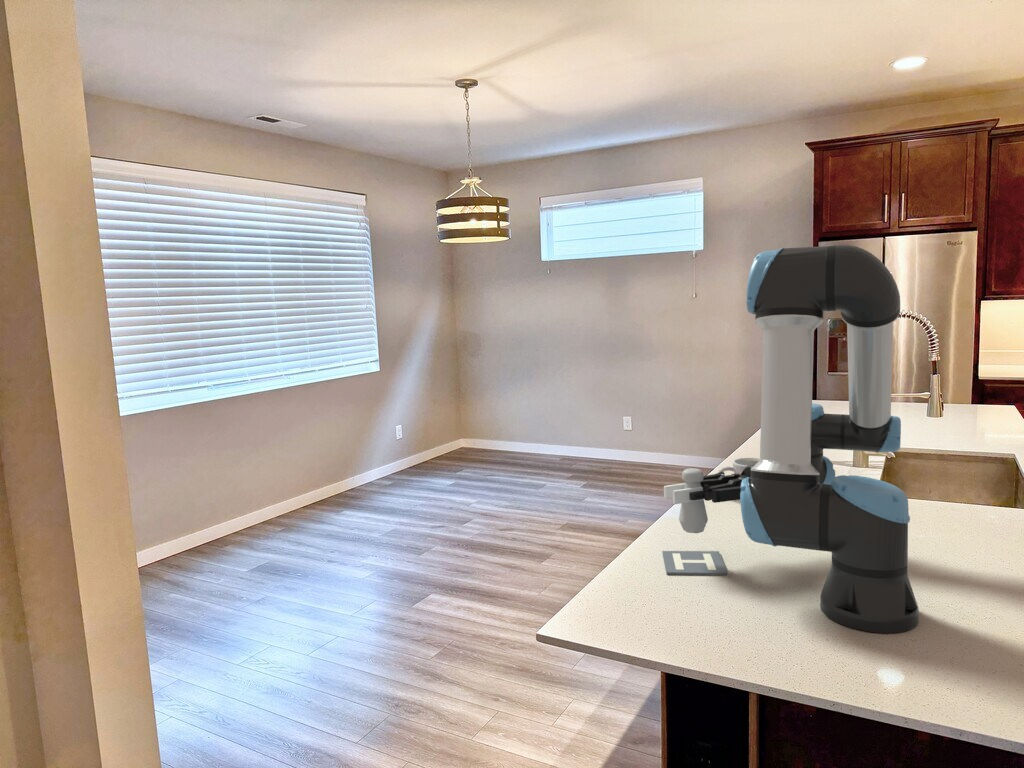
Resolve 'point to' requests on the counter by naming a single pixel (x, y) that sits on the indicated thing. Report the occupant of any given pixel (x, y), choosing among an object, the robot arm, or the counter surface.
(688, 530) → the salt shaker
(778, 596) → the counter surface
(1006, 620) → the counter surface
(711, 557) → the letter card
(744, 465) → the mug
